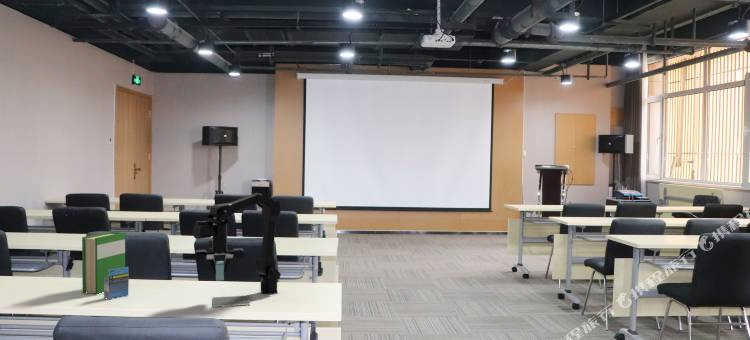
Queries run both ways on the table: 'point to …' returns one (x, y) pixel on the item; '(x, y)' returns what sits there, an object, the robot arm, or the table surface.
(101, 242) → the hardback book
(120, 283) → the label tape box
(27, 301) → the table surface
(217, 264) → the block
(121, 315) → the table surface
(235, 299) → the mat
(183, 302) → the table surface
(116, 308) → the table surface
